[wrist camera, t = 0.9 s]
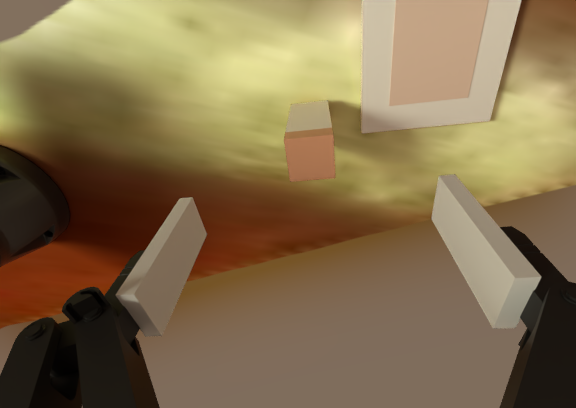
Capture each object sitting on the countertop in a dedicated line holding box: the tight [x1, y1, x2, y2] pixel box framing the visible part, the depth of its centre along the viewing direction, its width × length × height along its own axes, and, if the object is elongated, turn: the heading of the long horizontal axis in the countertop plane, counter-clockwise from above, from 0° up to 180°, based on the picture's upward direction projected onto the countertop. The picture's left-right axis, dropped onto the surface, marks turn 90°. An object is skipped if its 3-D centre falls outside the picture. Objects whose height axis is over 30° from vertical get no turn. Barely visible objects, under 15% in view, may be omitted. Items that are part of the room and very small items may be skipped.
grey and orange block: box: [284, 100, 335, 182], centre depth 26 cm, size 4×4×10 cm
